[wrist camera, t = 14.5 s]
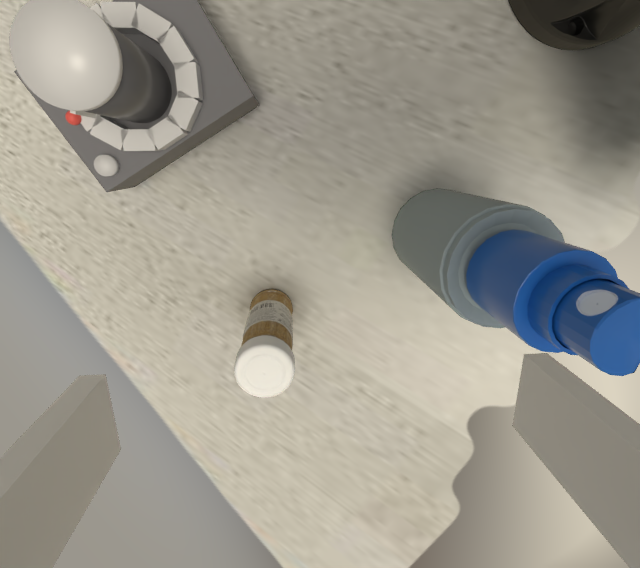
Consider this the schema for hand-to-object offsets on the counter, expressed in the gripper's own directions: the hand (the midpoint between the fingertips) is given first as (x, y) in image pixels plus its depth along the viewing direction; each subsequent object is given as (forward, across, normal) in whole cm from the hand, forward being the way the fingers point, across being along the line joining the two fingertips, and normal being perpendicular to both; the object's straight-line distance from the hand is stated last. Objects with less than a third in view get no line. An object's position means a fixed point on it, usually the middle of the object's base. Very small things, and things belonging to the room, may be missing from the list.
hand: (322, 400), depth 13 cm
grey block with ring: (+29, -12, +13) cm, 34 cm away
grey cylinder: (+23, -12, +12) cm, 29 cm away
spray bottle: (+29, +14, 0) cm, 32 cm away
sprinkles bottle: (+29, -3, -8) cm, 30 cm away
